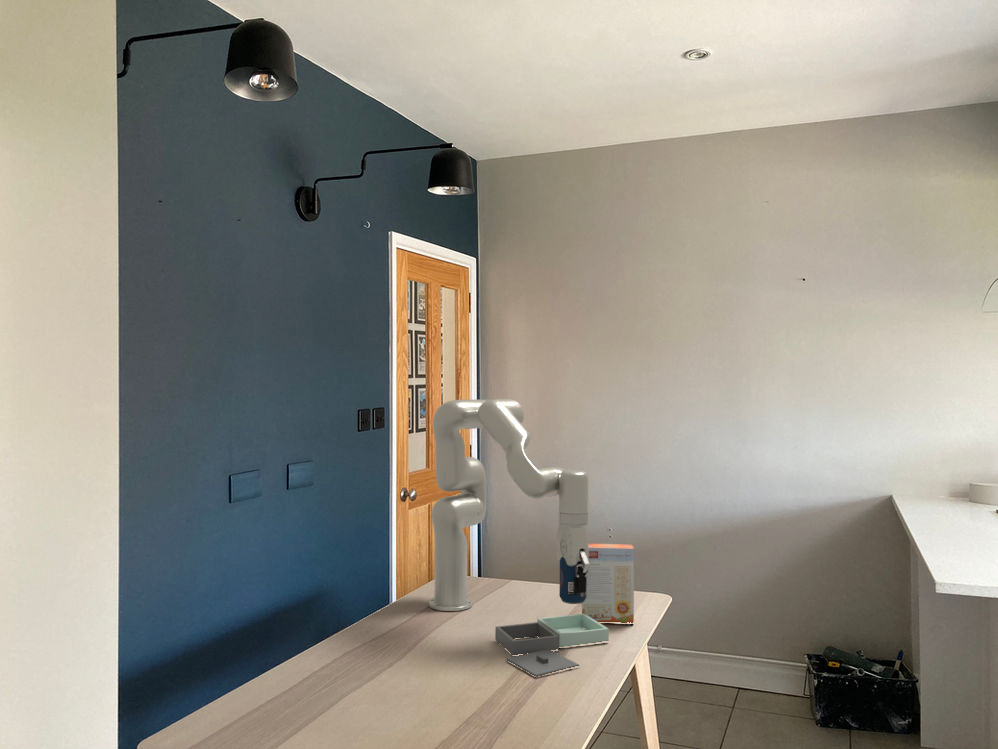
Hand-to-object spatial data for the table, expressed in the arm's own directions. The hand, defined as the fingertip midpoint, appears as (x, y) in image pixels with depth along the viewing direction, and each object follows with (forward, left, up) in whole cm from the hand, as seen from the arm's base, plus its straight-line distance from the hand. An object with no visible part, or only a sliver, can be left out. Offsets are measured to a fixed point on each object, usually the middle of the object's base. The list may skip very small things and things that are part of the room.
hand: (573, 588), depth 202 cm
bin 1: (+2, -14, -13) cm, 19 cm away
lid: (+15, -15, -13) cm, 25 cm away
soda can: (0, 0, -3) cm, 3 cm away
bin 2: (0, 0, -13) cm, 13 cm away
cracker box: (-9, +15, -13) cm, 22 cm away
